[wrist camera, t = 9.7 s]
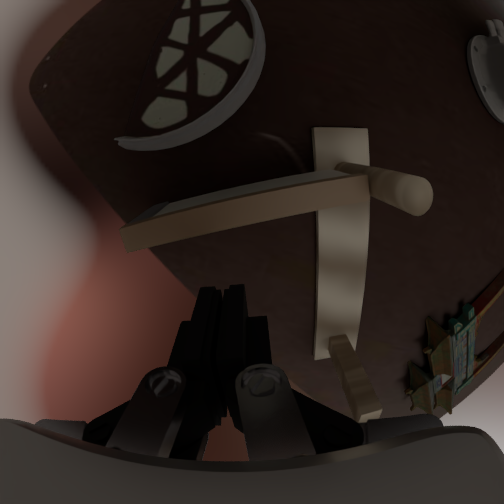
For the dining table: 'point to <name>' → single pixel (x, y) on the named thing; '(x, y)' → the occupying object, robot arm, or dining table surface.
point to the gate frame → (352, 256)
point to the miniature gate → (453, 354)
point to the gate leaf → (244, 206)
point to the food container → (196, 73)
